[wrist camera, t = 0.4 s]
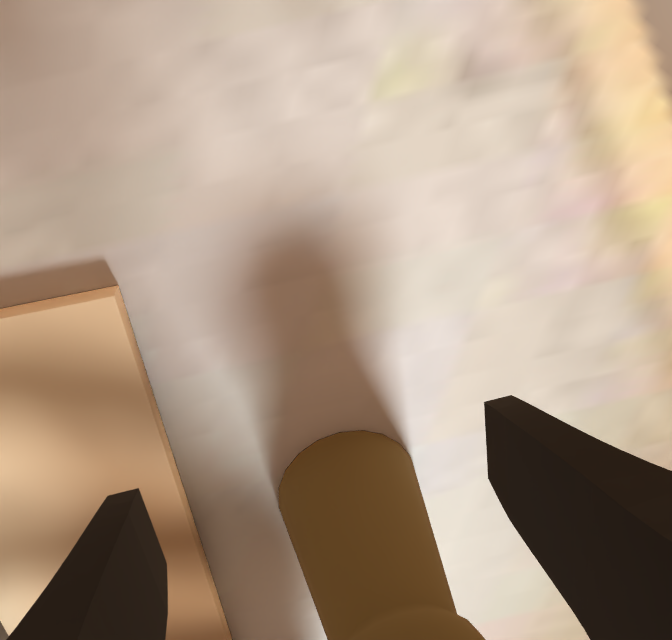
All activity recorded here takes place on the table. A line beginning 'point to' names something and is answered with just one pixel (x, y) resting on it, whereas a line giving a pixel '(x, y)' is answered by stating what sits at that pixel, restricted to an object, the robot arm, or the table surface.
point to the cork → (368, 542)
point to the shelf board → (87, 455)
